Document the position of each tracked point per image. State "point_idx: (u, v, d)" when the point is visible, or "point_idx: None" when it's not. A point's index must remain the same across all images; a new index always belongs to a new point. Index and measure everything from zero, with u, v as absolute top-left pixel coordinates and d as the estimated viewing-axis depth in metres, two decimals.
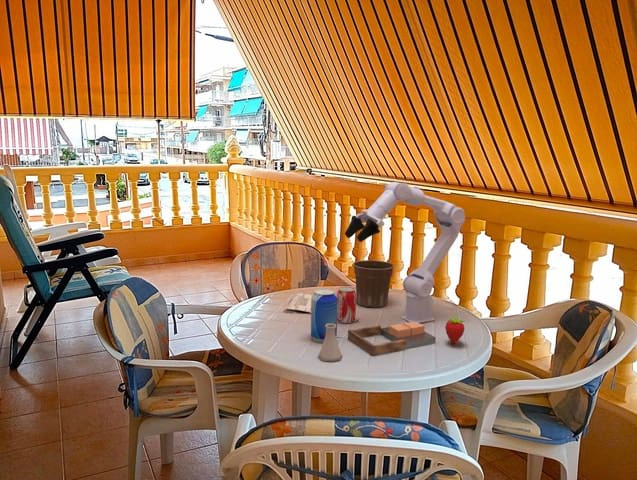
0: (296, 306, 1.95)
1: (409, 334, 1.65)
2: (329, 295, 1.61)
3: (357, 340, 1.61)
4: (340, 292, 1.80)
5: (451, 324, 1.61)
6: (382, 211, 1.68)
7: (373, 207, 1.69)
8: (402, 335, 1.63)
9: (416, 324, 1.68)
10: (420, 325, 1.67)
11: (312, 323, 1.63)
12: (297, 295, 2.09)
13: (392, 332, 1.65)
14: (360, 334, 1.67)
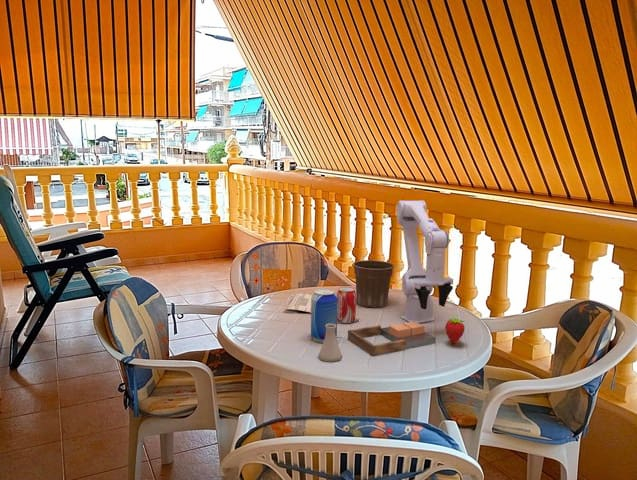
0: (296, 306, 1.95)
1: (409, 334, 1.65)
2: (329, 295, 1.61)
3: (357, 340, 1.61)
4: (340, 292, 1.80)
5: (451, 324, 1.61)
6: None
7: (442, 273, 1.66)
8: (402, 335, 1.63)
9: (416, 324, 1.68)
10: (420, 325, 1.67)
11: (312, 323, 1.63)
12: (297, 295, 2.09)
13: (392, 332, 1.65)
14: (360, 334, 1.67)
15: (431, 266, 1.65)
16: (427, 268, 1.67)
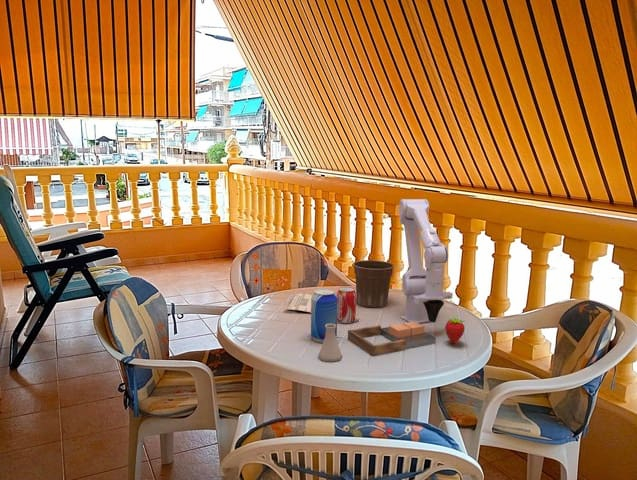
0: (296, 306, 1.95)
1: (409, 334, 1.65)
2: (329, 295, 1.61)
3: (357, 340, 1.61)
4: (340, 292, 1.80)
5: (451, 324, 1.61)
6: None
7: (441, 288, 1.67)
8: (402, 335, 1.63)
9: (416, 324, 1.68)
10: (420, 325, 1.67)
11: (312, 323, 1.63)
12: (296, 295, 2.09)
13: (392, 332, 1.65)
14: (360, 334, 1.67)
15: (430, 281, 1.66)
16: (426, 283, 1.68)
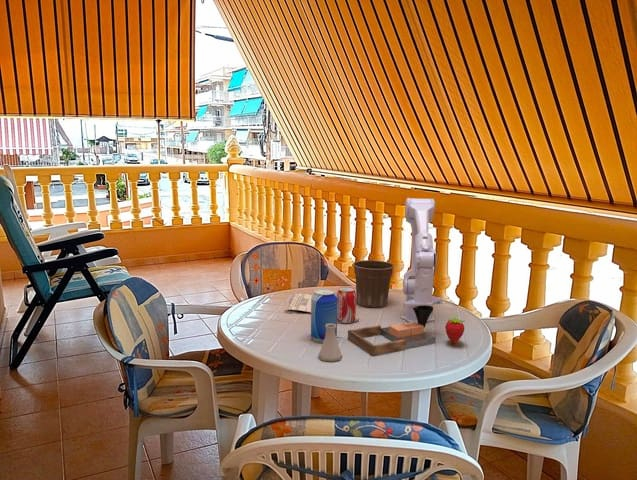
0: (297, 306, 1.95)
1: (409, 334, 1.65)
2: (329, 295, 1.61)
3: (357, 340, 1.61)
4: (340, 292, 1.80)
5: (451, 324, 1.61)
6: None
7: (431, 294, 1.65)
8: (402, 335, 1.63)
9: (415, 324, 1.68)
10: (419, 325, 1.67)
11: (312, 323, 1.63)
12: (296, 295, 2.09)
13: (392, 332, 1.65)
14: (360, 334, 1.67)
15: (418, 286, 1.65)
16: (416, 288, 1.66)
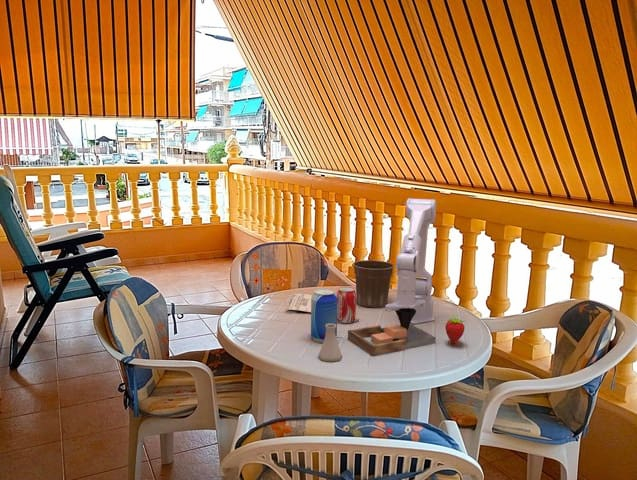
0: (297, 306, 1.94)
1: None
2: (329, 295, 1.61)
3: (357, 340, 1.61)
4: (340, 292, 1.80)
5: (451, 324, 1.61)
6: None
7: (413, 296, 1.62)
8: None
9: (398, 327, 1.65)
10: (402, 328, 1.64)
11: (312, 323, 1.63)
12: (296, 295, 2.09)
13: (374, 341, 1.63)
14: (360, 334, 1.67)
15: (398, 288, 1.63)
16: (398, 291, 1.63)
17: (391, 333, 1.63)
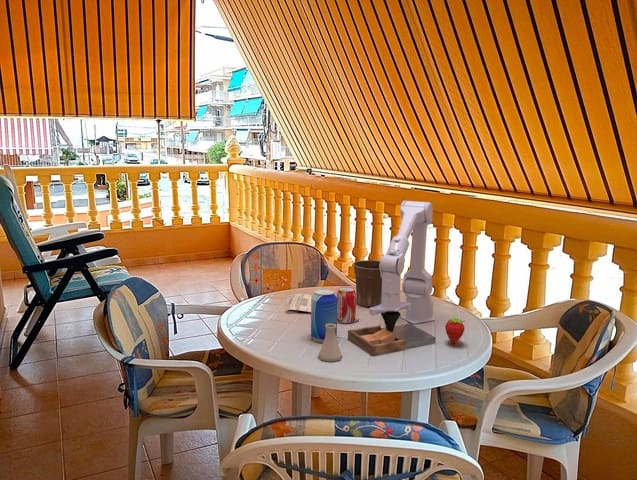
0: (297, 306, 1.94)
1: None
2: (329, 295, 1.61)
3: (357, 340, 1.61)
4: (340, 292, 1.80)
5: (451, 324, 1.61)
6: None
7: (398, 299, 1.60)
8: None
9: (385, 332, 1.63)
10: (389, 333, 1.62)
11: (312, 323, 1.63)
12: (296, 295, 2.09)
13: None
14: (360, 334, 1.67)
15: (382, 290, 1.61)
16: (382, 293, 1.61)
17: (379, 341, 1.61)
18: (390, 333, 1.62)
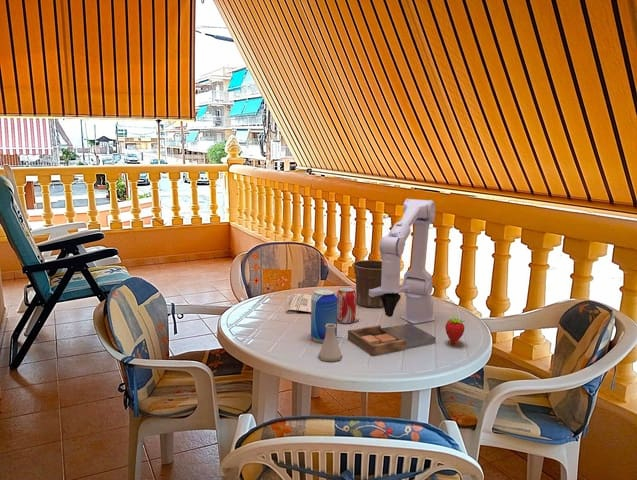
0: (297, 306, 1.94)
1: None
2: (329, 295, 1.61)
3: (357, 340, 1.61)
4: (340, 292, 1.80)
5: (451, 324, 1.61)
6: None
7: (397, 281, 1.59)
8: None
9: (387, 337, 1.63)
10: (392, 338, 1.62)
11: (312, 323, 1.63)
12: (296, 295, 2.09)
13: None
14: (360, 334, 1.67)
15: (382, 272, 1.59)
16: (382, 275, 1.59)
17: (380, 342, 1.61)
18: (393, 338, 1.62)
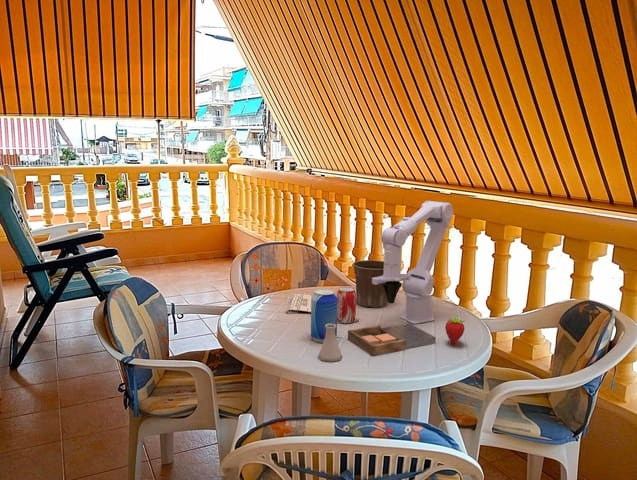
0: (297, 307, 1.94)
1: None
2: (329, 295, 1.61)
3: (357, 340, 1.61)
4: (340, 292, 1.80)
5: (451, 324, 1.61)
6: None
7: (399, 270, 1.71)
8: None
9: (387, 336, 1.63)
10: (392, 337, 1.62)
11: (312, 323, 1.63)
12: (295, 296, 2.09)
13: None
14: (360, 334, 1.67)
15: (384, 261, 1.72)
16: (384, 264, 1.71)
17: (380, 342, 1.61)
18: (393, 338, 1.62)
